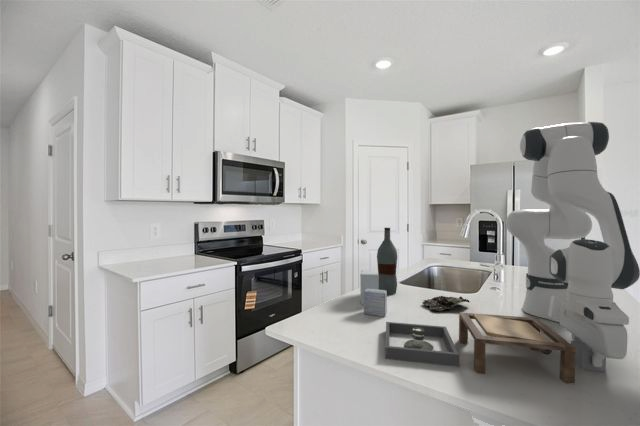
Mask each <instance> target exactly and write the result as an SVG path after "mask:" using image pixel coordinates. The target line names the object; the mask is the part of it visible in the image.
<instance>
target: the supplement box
mask: <svg viewBox="0 0 640 426" xmlns="http://www.w3.org/2000/svg"><path fill="white" fill-rule="evenodd" d="M359 276H360V305H364V291H365V290H366V289H377V290H379V275H378V270H360V275H359Z"/></svg>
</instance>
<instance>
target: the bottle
mask: <svg viewBox="0 0 640 426" xmlns="http://www.w3.org/2000/svg"><path fill="white" fill-rule="evenodd" d="M383 229H384V233H383V235H384V238H383V239H384V240H383V241H382V242H381V244H380V245H379V247H378V249H377V251H376V260H377V261H376V262H377V271H378V275H379V290H386V291H387V296H392V295H395V294H396V293H397V290H398V278H397V267H398V266H397V265H398V252H397V247H396V246H395V244H394V243H393V242H392V240H391V227H384V228H383Z"/></svg>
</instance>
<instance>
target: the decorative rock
mask: <svg viewBox="0 0 640 426" xmlns="http://www.w3.org/2000/svg"><path fill="white" fill-rule="evenodd" d="M465 302H467V303H470V300H469V299H467V298H463V297H462V296H459V297H454V296H444V295H439V296H434V297H432V298H431V299H429V298H428V299H423V300H422V304H423V305H425V306H428V307H429V309H430V311H434V312H442V311H444V310H451V309H455V307H456V306H457V305H459V304H460V303H465Z"/></svg>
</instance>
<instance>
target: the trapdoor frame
mask: <svg viewBox="0 0 640 426" xmlns="http://www.w3.org/2000/svg"><path fill="white" fill-rule="evenodd" d="M458 314H459V316H458V341H459V343H460V344H466V343H469V342H468V341H469V334H470V335H471V336H472V338H473V370H474V372H475V373H476V374H481V375H485V374H486V345H497V346H498V345H499V346H508V347H519V348H527V349H528V348H529V349H530V350H531V351H540V350H539V349H549V350H552V351H560V352H559V353H560V354H559V357H560V358H559V359H560V360H559V379H560V380H561V381H562V382H563V383H564V382H565V383H564V384H569V383H576V364H575V353H576V347H574V346H573V345H572V344H571V342H569V341H568V340H566V339H565V338H563V336H561V335H560V334H559V333H557V332H556V331H555V330H553V329H552V328H551V327H550V326H548V325H547V324H546V323H544V322H543V321H542V320H540V319H539V317H538V318H537V317H527V316H514V315H501V314H499V315H498V314H488V313H486V314H485V313H473V312H458ZM473 314H477V315H484V316H490V317H497V318H503V319H510V320H516V321H523V322H528V323H529V324H530V325H531V326H532V327H534V328H535V329H536V330H537V331H538V332H540V333H541V332H542V333H543V334H544V335H546V336H547V337H548V338H549V339H550V340H551V341H550V342H546V341H535V340H523V339H512V338H501V337H494V336H488V335H483V334H482V332H481V331H480V330H479V328H478V327H477V325H476V324H475V322H473V320H475V319H474V317H473Z"/></svg>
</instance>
